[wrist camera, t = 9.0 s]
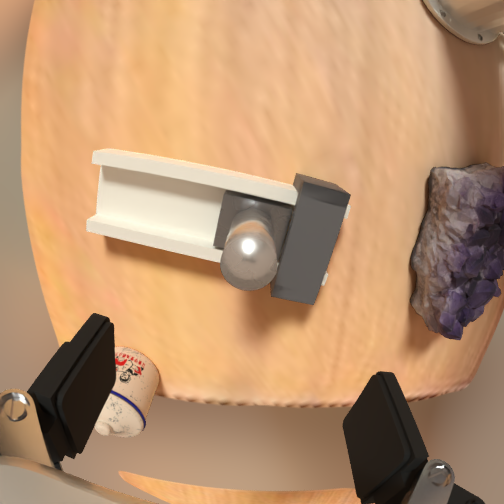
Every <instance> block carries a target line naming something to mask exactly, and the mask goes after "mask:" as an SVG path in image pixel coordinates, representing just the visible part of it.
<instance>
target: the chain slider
mask: <svg viewBox="0 0 504 504" xmlns="http://www.w3.org/2000/svg"><path fill="white" fill-rule="evenodd" d="M292 211H293V209H292V207H291V205H289V204H285V203H281V202H277V201H273V200H269V199H264V198H260V197H256V196H252V195H247V194H243V193H239V192H234V191H230V190H226V191H225V193H224V195H223V200H222V205H221V209H220V214H219V219H218V224H217V228H216V233H215V238H214V243H213V246H216V247H221V248H224V249H223V253H222V256H221V260H220V268H221V272H222V274H223V276H224V278H225V279H226V281H227V282H228V283H229V284H231V285H232V286H234V287H236V288H238V289H241V290H246V291H252V290H257V289H260V288H263V287H265V286H266V285H267V284H269V283H270V282H271V281H272V279H273V278H274V276H275V274H276V272H277V260H279V257H280V253H281V250H282V247H283V246H284V243H285V239H286V236H287V232H288V229H289V225H290V222H291V219H290V218H291V214H292Z"/></svg>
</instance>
